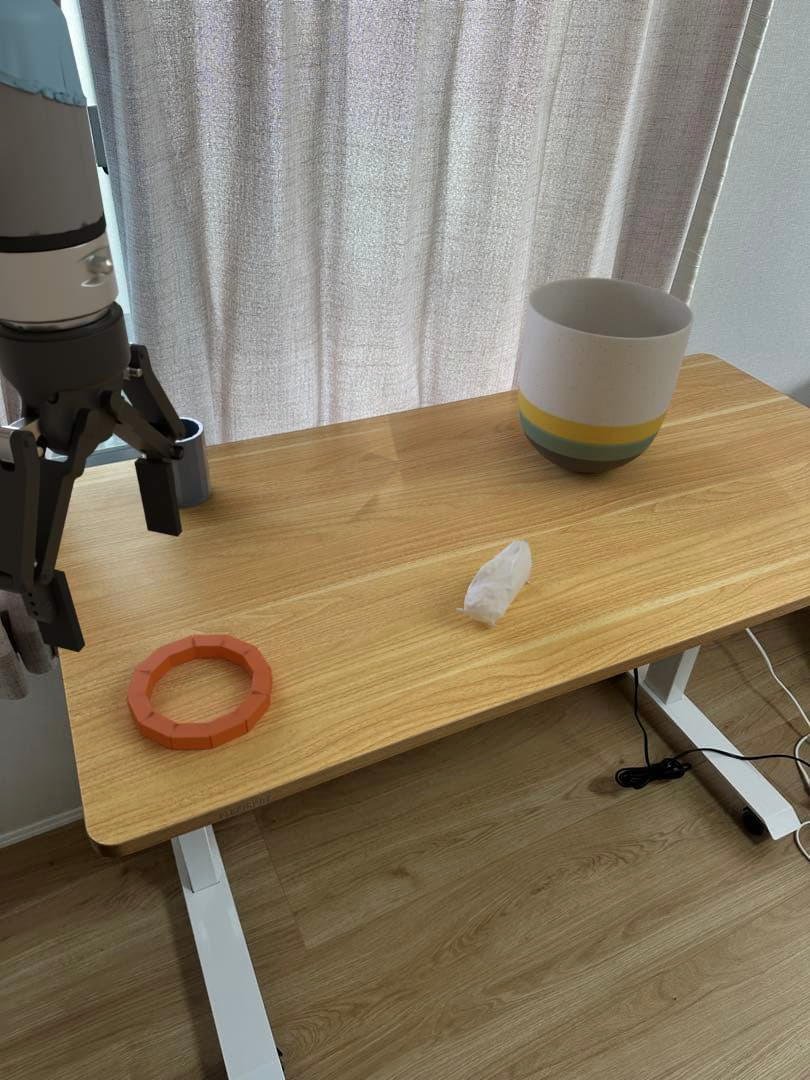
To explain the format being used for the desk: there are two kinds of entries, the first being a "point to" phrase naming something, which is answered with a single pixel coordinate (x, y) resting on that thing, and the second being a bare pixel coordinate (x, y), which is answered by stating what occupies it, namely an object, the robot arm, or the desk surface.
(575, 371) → the planter
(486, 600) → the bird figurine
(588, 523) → the desk surface
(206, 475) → the cup
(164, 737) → the ring
